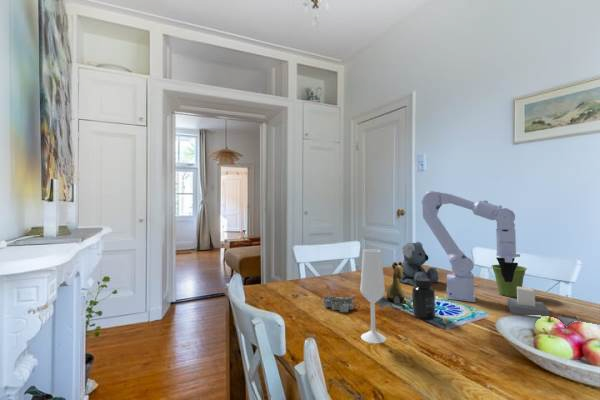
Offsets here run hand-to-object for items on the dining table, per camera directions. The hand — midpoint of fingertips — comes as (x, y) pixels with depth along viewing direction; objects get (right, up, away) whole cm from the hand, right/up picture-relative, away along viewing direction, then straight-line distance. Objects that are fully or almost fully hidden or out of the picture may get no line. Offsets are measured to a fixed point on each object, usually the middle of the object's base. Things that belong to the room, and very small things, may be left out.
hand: (507, 279), depth 106 cm
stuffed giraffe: (-37, -11, +7) cm, 39 cm away
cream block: (+2, -7, -6) cm, 9 cm away
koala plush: (-20, -11, +35) cm, 41 cm away
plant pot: (+10, -10, +13) cm, 19 cm away
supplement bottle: (-34, -10, -9) cm, 37 cm away
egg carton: (-61, -11, 0) cm, 62 cm away
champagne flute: (-55, -10, -25) cm, 61 cm away
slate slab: (+2, -10, -6) cm, 12 cm away
